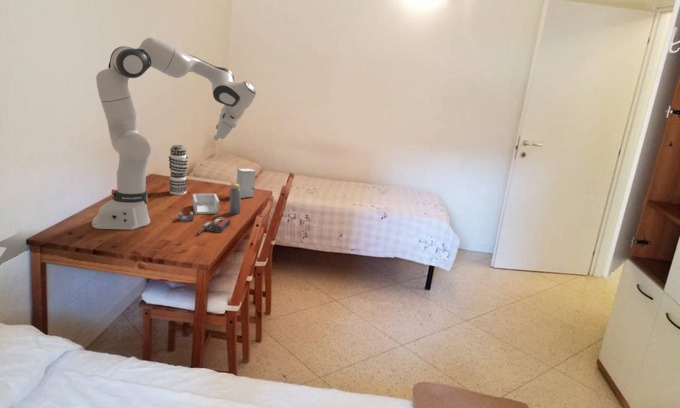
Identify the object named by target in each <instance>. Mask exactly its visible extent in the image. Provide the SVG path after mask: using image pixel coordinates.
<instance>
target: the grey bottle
mask: <svg viewBox="0 0 680 408" xmlns="http://www.w3.org/2000/svg"><path fill="white" fill-rule="evenodd" d="M241 200H242V198H241V189H240V188H239V184H237V183H232V187H230V189H229V214H230V215H240V214H241Z"/></svg>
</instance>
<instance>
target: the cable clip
mask: <svg viewBox="0 0 680 408" xmlns="http://www.w3.org/2000/svg"><path fill="white" fill-rule="evenodd" d="M178 221H179V222H194V211H189V215H183V213H182V211H178Z"/></svg>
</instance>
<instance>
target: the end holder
mask: <svg viewBox="0 0 680 408" xmlns="http://www.w3.org/2000/svg"><path fill="white" fill-rule="evenodd" d="M192 209H193V213H194V215H210V214H212V215H213V214H215V215H216V214H220V199H219V197H218V195H217V193H192Z"/></svg>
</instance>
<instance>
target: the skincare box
mask: <svg viewBox="0 0 680 408" xmlns="http://www.w3.org/2000/svg"><path fill="white" fill-rule="evenodd" d="M236 172H237V173H236V184H239V188H240V189H241V199H244V198H246V197H247V198H254V195H255V183H256V170H254V169H252V168H237V170H236Z"/></svg>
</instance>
